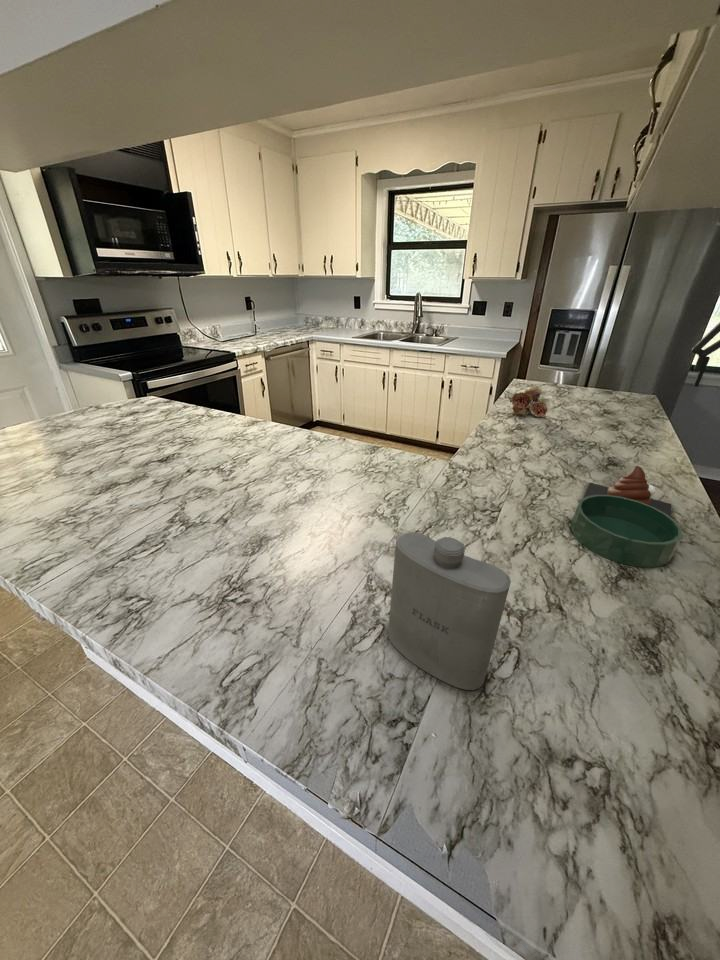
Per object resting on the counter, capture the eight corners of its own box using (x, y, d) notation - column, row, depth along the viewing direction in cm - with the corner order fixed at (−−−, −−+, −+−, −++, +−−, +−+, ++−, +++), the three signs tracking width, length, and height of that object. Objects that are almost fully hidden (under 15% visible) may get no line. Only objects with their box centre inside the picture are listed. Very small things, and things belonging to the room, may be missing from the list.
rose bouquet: (495, 396, 155) (532, 393, 143) (515, 381, 163) (551, 377, 152) (502, 427, 159) (539, 426, 148) (521, 411, 168) (557, 408, 156)
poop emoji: (597, 492, 100) (609, 458, 96) (629, 492, 101) (642, 458, 97) (624, 513, 92) (638, 477, 87) (658, 513, 92) (674, 477, 88)
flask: (377, 641, 59) (385, 530, 49) (399, 618, 63) (410, 511, 53) (472, 703, 50) (503, 584, 41) (490, 672, 55) (522, 557, 45)
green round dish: (671, 534, 86) (681, 512, 83) (671, 581, 72) (683, 557, 70) (578, 506, 95) (585, 486, 92) (563, 543, 81) (570, 521, 79)
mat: (670, 505, 97) (671, 503, 96) (670, 528, 88) (671, 526, 88) (589, 484, 106) (589, 482, 105) (581, 502, 97) (582, 500, 97)
